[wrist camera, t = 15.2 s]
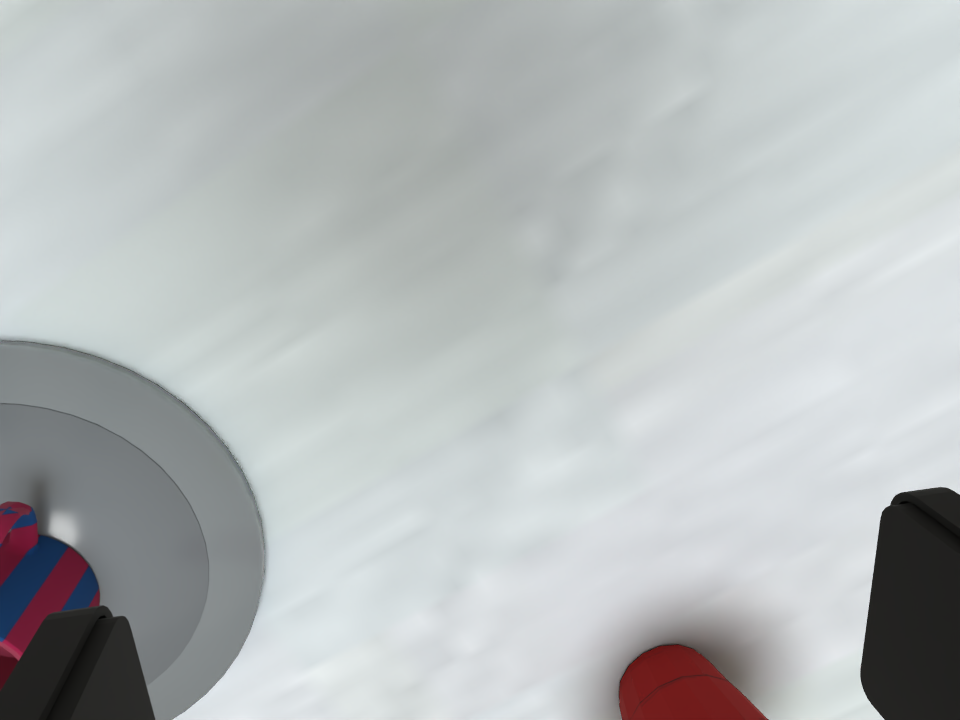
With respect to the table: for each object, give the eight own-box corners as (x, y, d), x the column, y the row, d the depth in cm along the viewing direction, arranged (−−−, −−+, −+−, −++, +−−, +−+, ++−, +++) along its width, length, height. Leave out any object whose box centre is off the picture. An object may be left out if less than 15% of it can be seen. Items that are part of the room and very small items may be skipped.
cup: (-69, 633, 36) (-163, 745, 29) (-16, 449, 33) (-107, 528, 27) (79, 666, 37) (20, 780, 31) (138, 494, 35) (87, 578, 29)
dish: (-316, 378, 32) (-344, 389, 31) (214, 309, 34) (209, 317, 33) (-131, 777, 39) (-148, 799, 38) (299, 697, 41) (297, 715, 40)
